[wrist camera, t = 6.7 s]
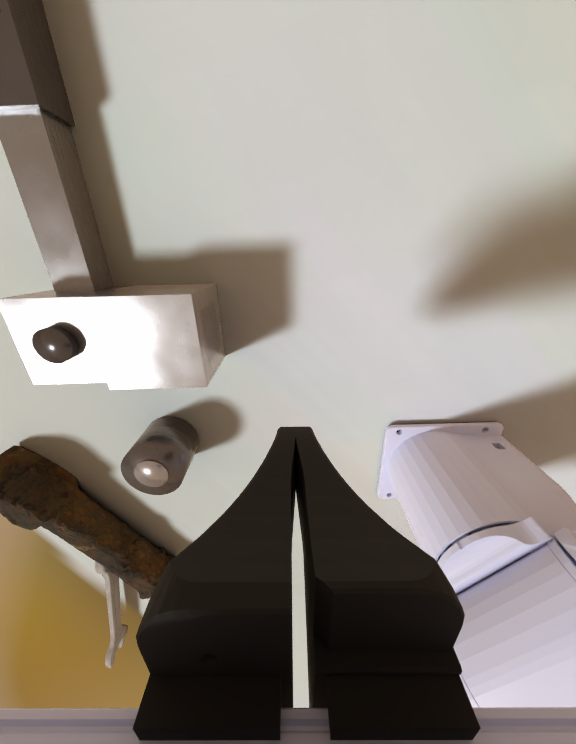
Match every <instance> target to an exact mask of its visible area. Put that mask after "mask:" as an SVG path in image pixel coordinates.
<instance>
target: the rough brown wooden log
mask: <svg viewBox="0 0 576 744" xmlns="http://www.w3.org/2000/svg"><path fill="white" fill-rule="evenodd" d="M77 484H78V479H77V478H76V477H75V476H73V475H72V474H70V473H69V472H68V471H66V470H64V469H63V468H61V467H60V466H58V465H56V464H55V463H53V462H51V461H49V460H48V459H46V458H44V457H42V456H40V455H38V454H36V453H34V452H31V451H29V450H26V449H25V448H22V447H20V446H13V447H11V448H9V449H8V450H6V451H5V452H3V453H2V454H1V455H0V513H1V514H2V515H3V516H4V517H6V518H7V519H8V520H9V521H10V522H11V523H12V524H14V525H18V526H20V527H22V528H25V529H29V530H33V529H36V528H38V527H39V526H42V527H43V528H45V529H48V530H49V531H51V532H52V533H54V534H55V535H57V536H59V537H60V538H62V539H64V540H65V541H66V542H68V543H69V544H71V545H72V546H74V547H75V548H76V549H78V550H79V551H81V552H83V553H84V554H86V555H87V556H88V557H90V558H92V559H93V560H95V561H96V562H98V563H100V564H101V565H102V566H104V567H105V568H106V569H107V570H108V571H109V572H111V573H113V574H115V575H116V576H117V577H120V578H121V579H122V580H123V581H124V582H125V583H127V584H129V585H130V586H132V587H133V588H135V589H137V591H138V592H139V595H140V598H141V599H146V598H147V599H148V598H150V597H151V596H152V593H153V591H154V589H155V587H156V586H157V584H158V582H159V580H160V578H161V576H162V574H163V572H164V570H165V569H166V567H167V565H168V563H169V562H170V561H171V560H172V559H173V558H175V556H174V555H169V556H168V555H166V551H165V548H161V549H158V548H156V547H155V546H153V545H152V544H150V543H149V542H148V541H147V540H145V539H144V538H142V537H141V536H140V535H138V534H137V533H135V532H134V531H133V530H132V529H130V528H129V527H128V526H127V525H126V524H125V522H122V521H120V520H119V519H117V518H116V517H115V516H113V514H112V513H110V512H108V511H107V510H105V509H104V508H103V507H101V506H100V505H99V504H97V503H96V502H95V501H93V500H92V499H90V498H89V497H88V496H87V495H86V494H85V493H84V492H82V491H81V490H80V489H79V488H78V486H77Z"/></svg>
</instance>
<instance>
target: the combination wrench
mask: <svg viewBox="0 0 576 744" xmlns="http://www.w3.org/2000/svg"><path fill="white" fill-rule="evenodd" d="M95 571H96V572H97V573H98V574H102V576H103V577H104V579H105V585H106V595H107V605H108V614H109V624H110V634H111V641H110V646H109V649H108V651H107V655H106V659H105V665H106V666H107V667H108V668H112V666H113V663H114V658H115V653H116V651H117V648H118V647H119V648H121V647H122V645H123V643H124V640H125V637H126V633H127V628H128V626H127V625H121V610H120V590H119V577H117V576H116V575H115V574H113V573H111V572H109V571H108V570H107V569H106V568H105V567H104V566H102V565H101V564H100V563H98V562H96V561H95Z"/></svg>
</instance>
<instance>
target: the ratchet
mask: <svg viewBox="0 0 576 744" xmlns="http://www.w3.org/2000/svg"><path fill="white" fill-rule="evenodd" d="M70 126H75V124H74V120H73V116H72V113H71V109H70V105H69V101H68V98H67V94H66V90H65V87H64V83H63V79H62V75H61V72H60V68H59V64H58V60H57V57H56V53H55V49H54V45H53V42H52V38H51V34H50V30H49V27H48V23H47V19H46V15H45V12H44V8H43V4H42V0H0V140H1V142H2V145H3V148H4V151H5V153H6V156H7V159H8V162H9V165H10V167H11V170H12V173H13V176H14V179H15V181H16V184H17V187H18V190H19V192H20V195H21V198H22V201H23V204H24V206H25V209H26V212H27V215H28V218H29V220H30V223H31V226H32V229H33V232H34V234H35V237H36V240H37V243H38V245H39V248H40V251H41V254H42V257H43V259H44V262H45V265H46V268H47V271H48V273H49V276H50V279H51V282H52V284H53V287H54V290H50V291H44V292H38V293H32V294H26V295H19V296H13V297H7V298H1V299H0V310H1V312H2V315H3V317H4V319H5V321H6V324H7V326H8V328H9V330H10V333H11V335H12V337H13V339H14V341H15V344H16V346H17V348H18V350H19V353H20V355H21V357H22V359H23V362H24V364H25V366H26V368H27V370H28V373H29V375H30V377H31V379H32V382H33V384H66V383H104V382H107V379H106V376H105V373H104V370H103V367H102V364H101V361H100V357H99V354H98V351H97V348H96V345H95V342H94V339H93V336H92V333H91V330H90V327H89V324H88V321H87V318H86V315H85V312H84V309H83V306H82V303H81V300H80V297H84V296H88V295H93V294H97V293H101V292H106V291H110V290H115V289H119V288H124V287H114V286H113V283H112V279H111V276H110V272H109V268H108V265H107V261H106V257H105V254H104V250H103V246H102V243H101V239H100V235H99V232H98V228H97V224H96V221H95V217H94V213H93V210H92V206H91V202H90V199H89V195H88V191H87V188H86V184H85V181H84V177H83V173H82V170H81V166H80V162H79V159H78V155H77V151H76V148H75V144H74V140H73V137H72V133H71V129H70Z"/></svg>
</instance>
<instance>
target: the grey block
mask: <svg viewBox="0 0 576 744" xmlns="http://www.w3.org/2000/svg"><path fill="white" fill-rule="evenodd" d="M80 300H81V303H82V306H83V309H84V312H85V315H86V318H87V321H88V324H89V327H90V330H91V333H92V336H93V339H94V342H95V345H96V348H97V351H98V354H99V357H100V361H101V364H102V367H103V370H104V373H105V376H106V379H107V382H108V385H109V388H110V390H112V389H153V388H193V387H207V386H208V384H209V382H210V381H211V379H212V377H213V376H214V374H215V372H216V371H217V369H218V367H219V366H220V364H221V362H222V360H223V359H224V357H225V350H224V342H223V334H222V327H221V319H220V311H219V303H218V295H217V287H216V283H200V284H166V285H133V286H128V287H124V288H119V289H115V290H110V291H106V292H101V293H97V294H93V295H88V296H84V297H80Z"/></svg>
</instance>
